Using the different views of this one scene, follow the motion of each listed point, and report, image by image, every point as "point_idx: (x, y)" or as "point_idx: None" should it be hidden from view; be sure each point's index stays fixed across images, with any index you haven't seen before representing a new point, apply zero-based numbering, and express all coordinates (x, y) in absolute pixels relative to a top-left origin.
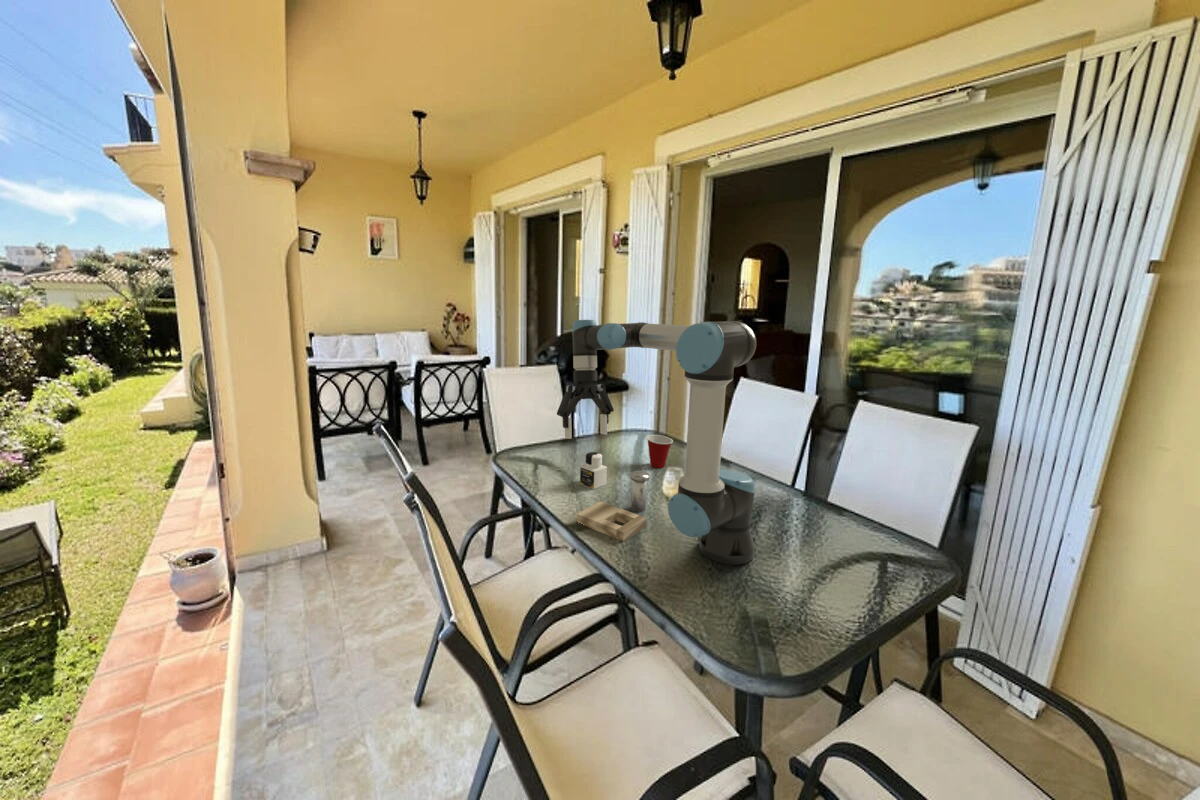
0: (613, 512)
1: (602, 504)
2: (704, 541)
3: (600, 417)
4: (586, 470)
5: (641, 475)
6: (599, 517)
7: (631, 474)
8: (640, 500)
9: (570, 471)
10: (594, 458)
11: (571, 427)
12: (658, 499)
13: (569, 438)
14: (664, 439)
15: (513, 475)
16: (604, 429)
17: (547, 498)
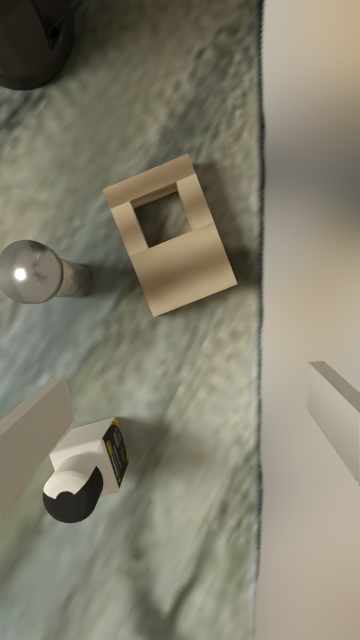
0: (157, 250)
1: (158, 299)
2: (50, 38)
3: (9, 501)
4: (112, 464)
5: (27, 261)
6: (200, 242)
7: (52, 283)
8: (69, 261)
9: (113, 538)
10: (81, 474)
11: (343, 396)
12: (5, 299)
13: (324, 364)
14: None
15: (251, 577)
16: (51, 398)
17: (235, 422)
